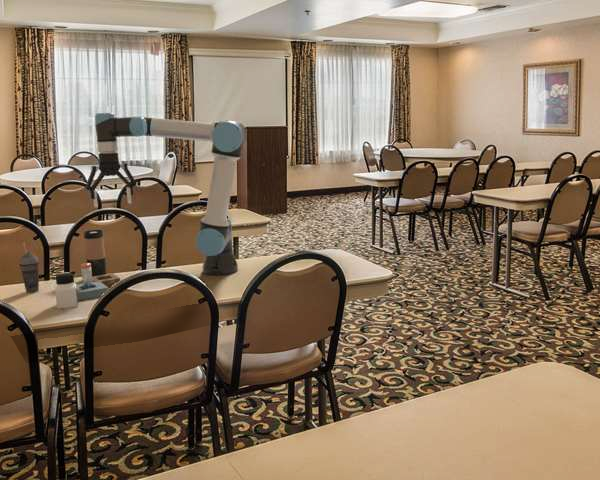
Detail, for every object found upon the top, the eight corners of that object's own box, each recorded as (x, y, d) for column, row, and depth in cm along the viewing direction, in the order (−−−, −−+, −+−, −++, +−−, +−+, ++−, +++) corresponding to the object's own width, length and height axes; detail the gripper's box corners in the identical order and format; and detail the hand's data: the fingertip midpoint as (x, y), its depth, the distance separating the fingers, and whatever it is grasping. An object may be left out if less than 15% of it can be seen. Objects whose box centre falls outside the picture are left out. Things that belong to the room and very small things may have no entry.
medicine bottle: (78, 306, 226) (74, 274, 223) (57, 309, 223) (53, 277, 221) (78, 301, 232) (74, 270, 230) (57, 304, 230) (54, 272, 228)
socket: (100, 288, 250) (99, 281, 249) (108, 294, 240) (108, 287, 239) (68, 293, 243) (68, 286, 243) (76, 300, 233) (75, 293, 233)
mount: (113, 280, 261) (112, 273, 261) (120, 285, 253) (120, 278, 252) (89, 284, 256) (88, 277, 255) (95, 289, 248) (94, 282, 247)
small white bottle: (92, 292, 244) (89, 262, 242) (94, 294, 241) (91, 264, 239) (82, 294, 242) (79, 264, 240) (85, 296, 239) (82, 265, 237)
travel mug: (110, 275, 270) (105, 229, 266) (102, 279, 262) (98, 233, 258) (93, 275, 271) (88, 230, 267) (85, 280, 263) (80, 233, 259)
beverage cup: (35, 294, 244) (29, 244, 240) (18, 294, 245) (12, 244, 241) (46, 289, 251) (40, 240, 247) (29, 288, 252) (23, 240, 248)
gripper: (135, 150, 259) (140, 201, 263) (73, 154, 246) (79, 207, 250) (141, 150, 253) (146, 202, 257) (78, 154, 240) (84, 209, 244)
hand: (113, 205), depth 253 cm, fingers open, 13 cm apart
